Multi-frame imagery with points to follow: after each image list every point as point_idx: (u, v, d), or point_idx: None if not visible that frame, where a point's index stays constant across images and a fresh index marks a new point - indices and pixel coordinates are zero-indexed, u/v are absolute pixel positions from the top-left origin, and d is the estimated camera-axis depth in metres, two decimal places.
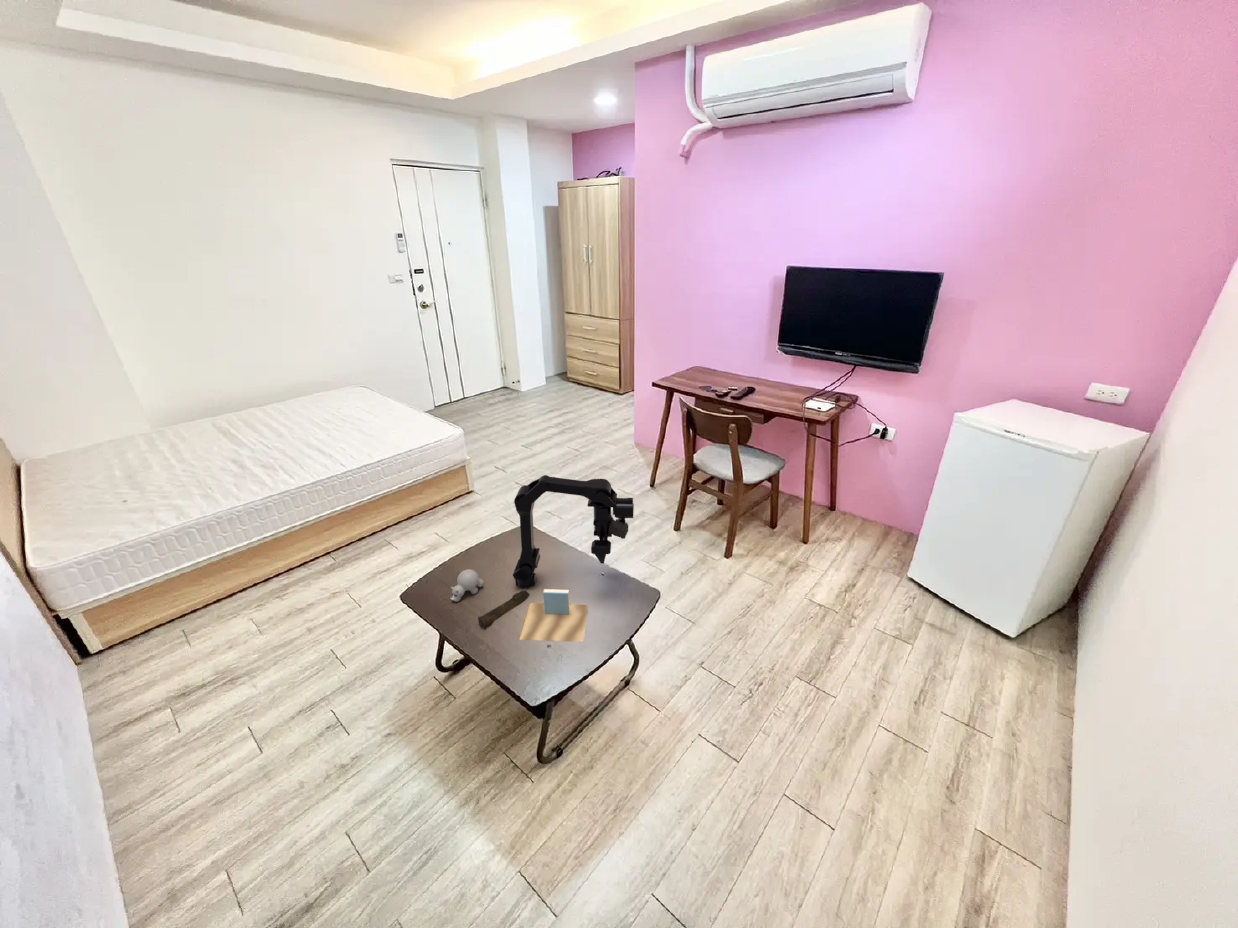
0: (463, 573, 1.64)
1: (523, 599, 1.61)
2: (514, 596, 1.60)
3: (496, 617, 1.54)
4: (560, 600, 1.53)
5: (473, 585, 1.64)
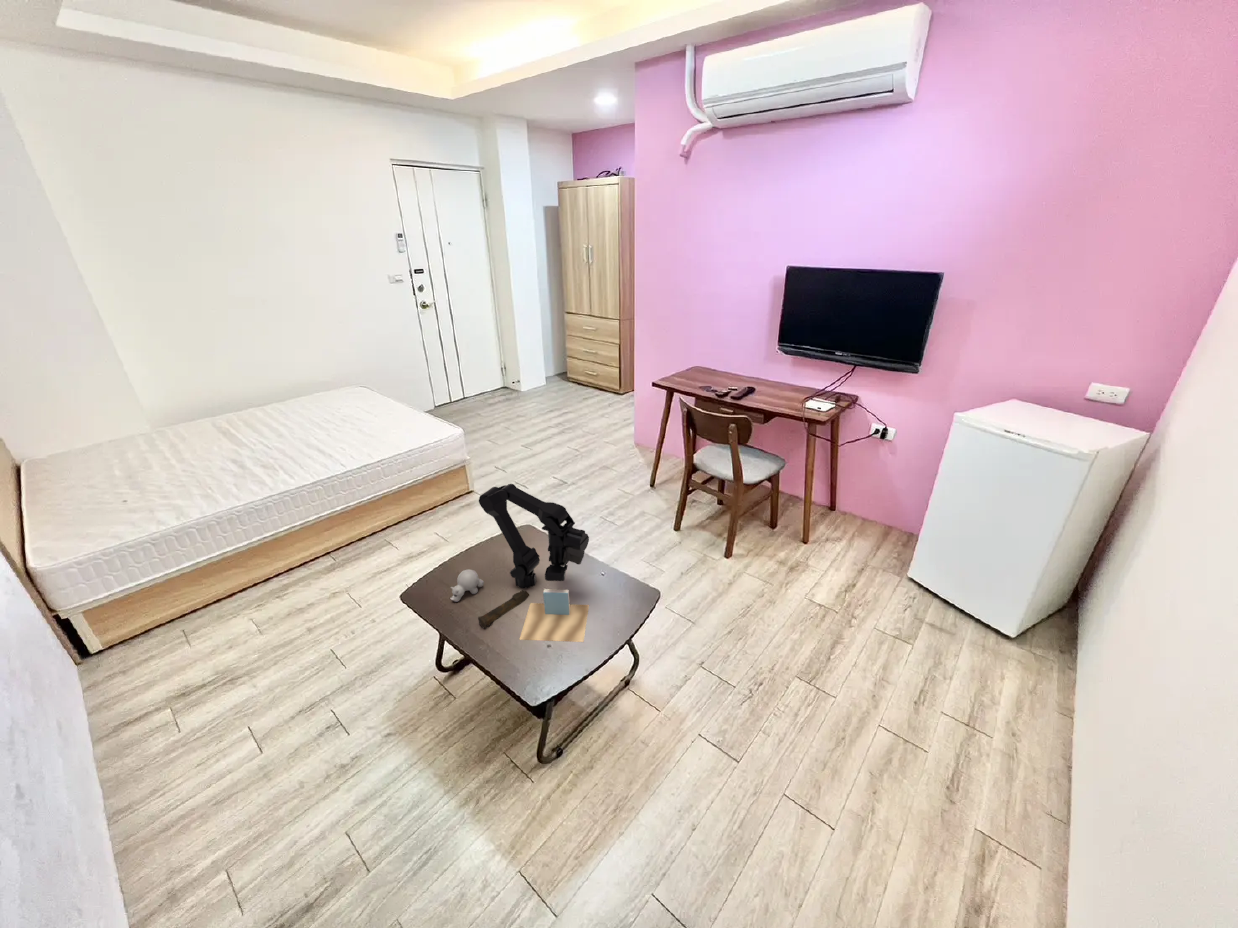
0: (463, 573, 1.64)
1: (523, 599, 1.61)
2: (514, 596, 1.60)
3: (496, 617, 1.54)
4: (560, 600, 1.53)
5: (473, 585, 1.64)
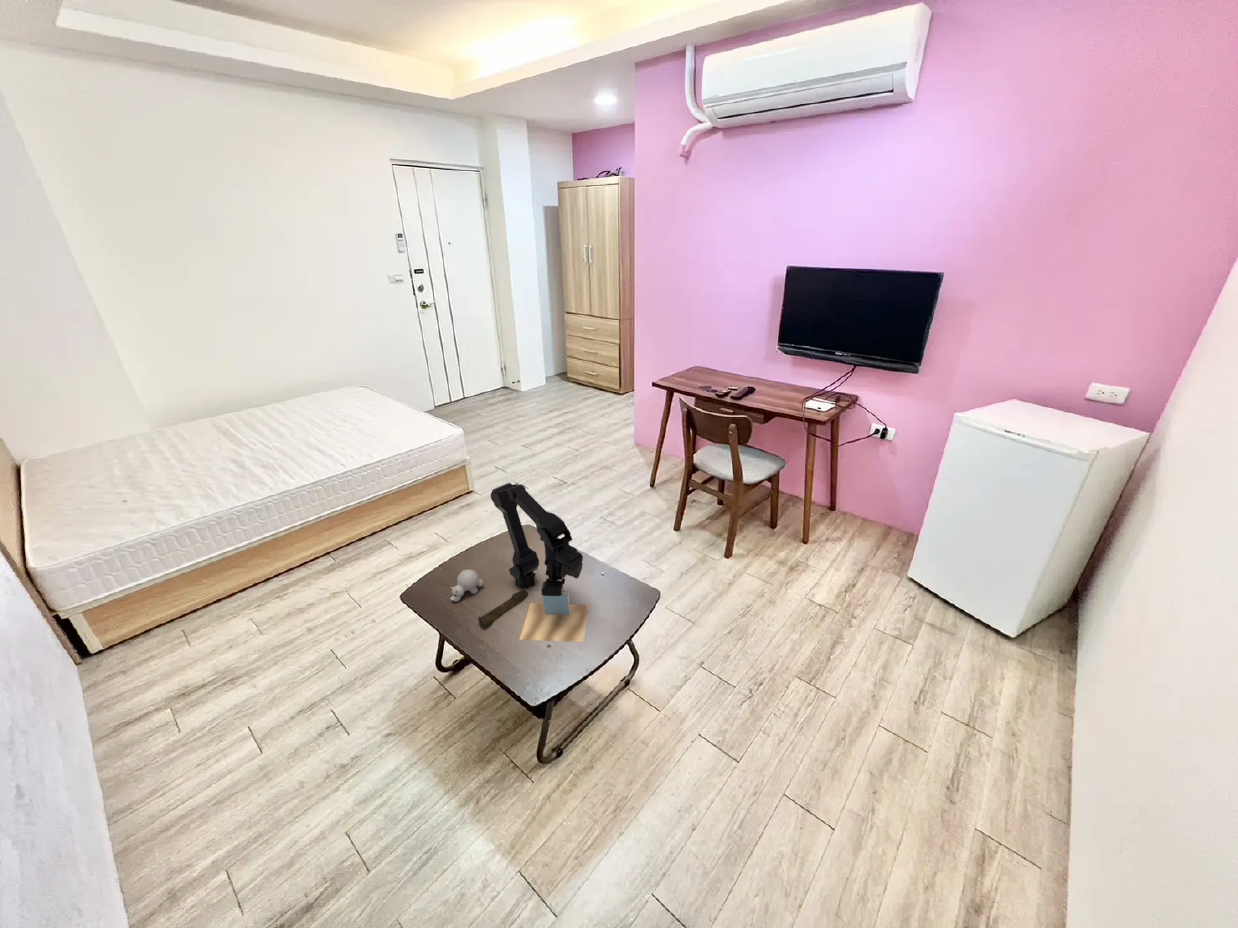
0: (463, 573, 1.64)
1: (522, 598, 1.61)
2: (513, 596, 1.60)
3: (496, 617, 1.54)
4: (560, 601, 1.53)
5: (473, 585, 1.64)
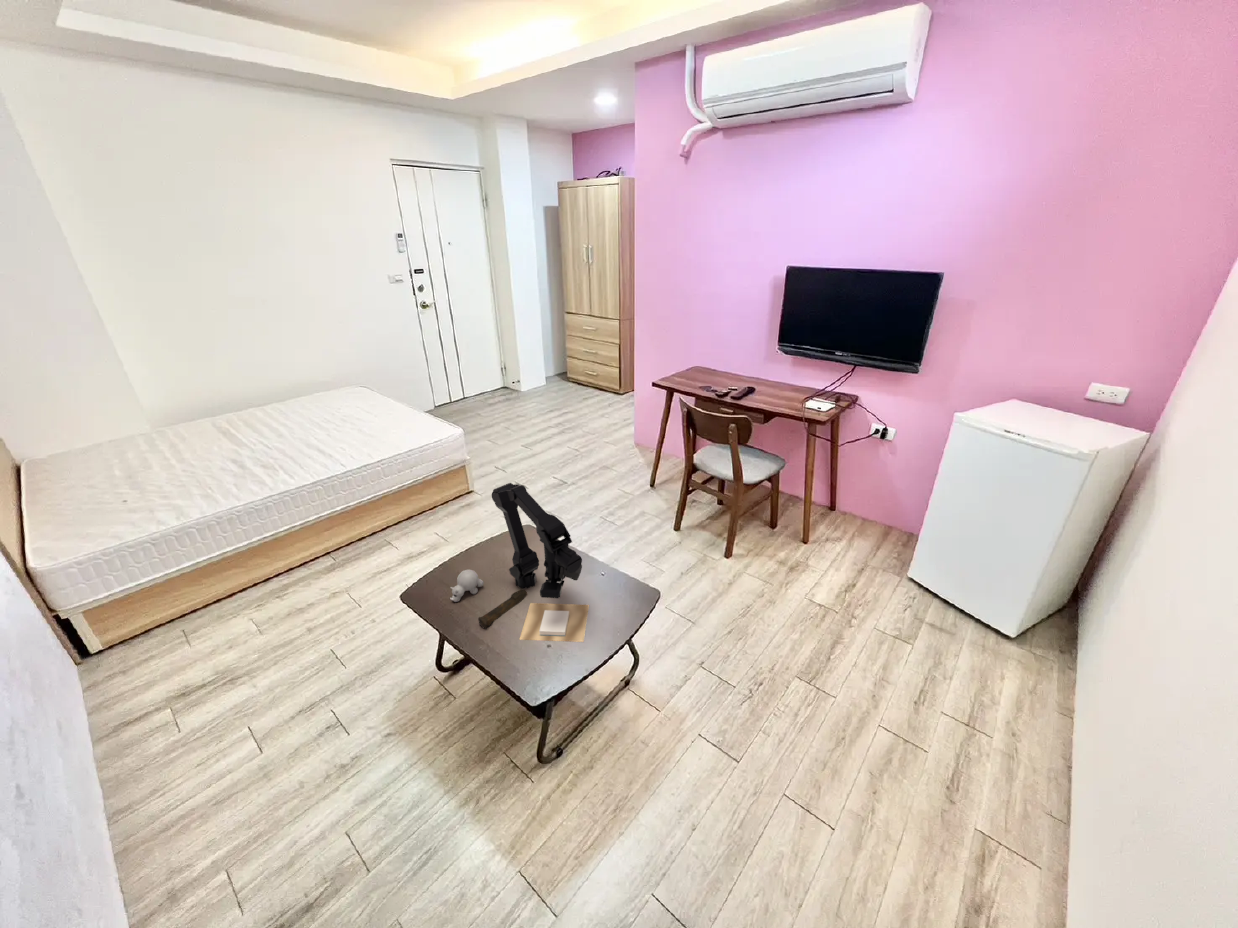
0: (463, 573, 1.64)
1: (522, 598, 1.62)
2: (513, 595, 1.60)
3: (496, 617, 1.54)
4: None
5: (473, 585, 1.64)
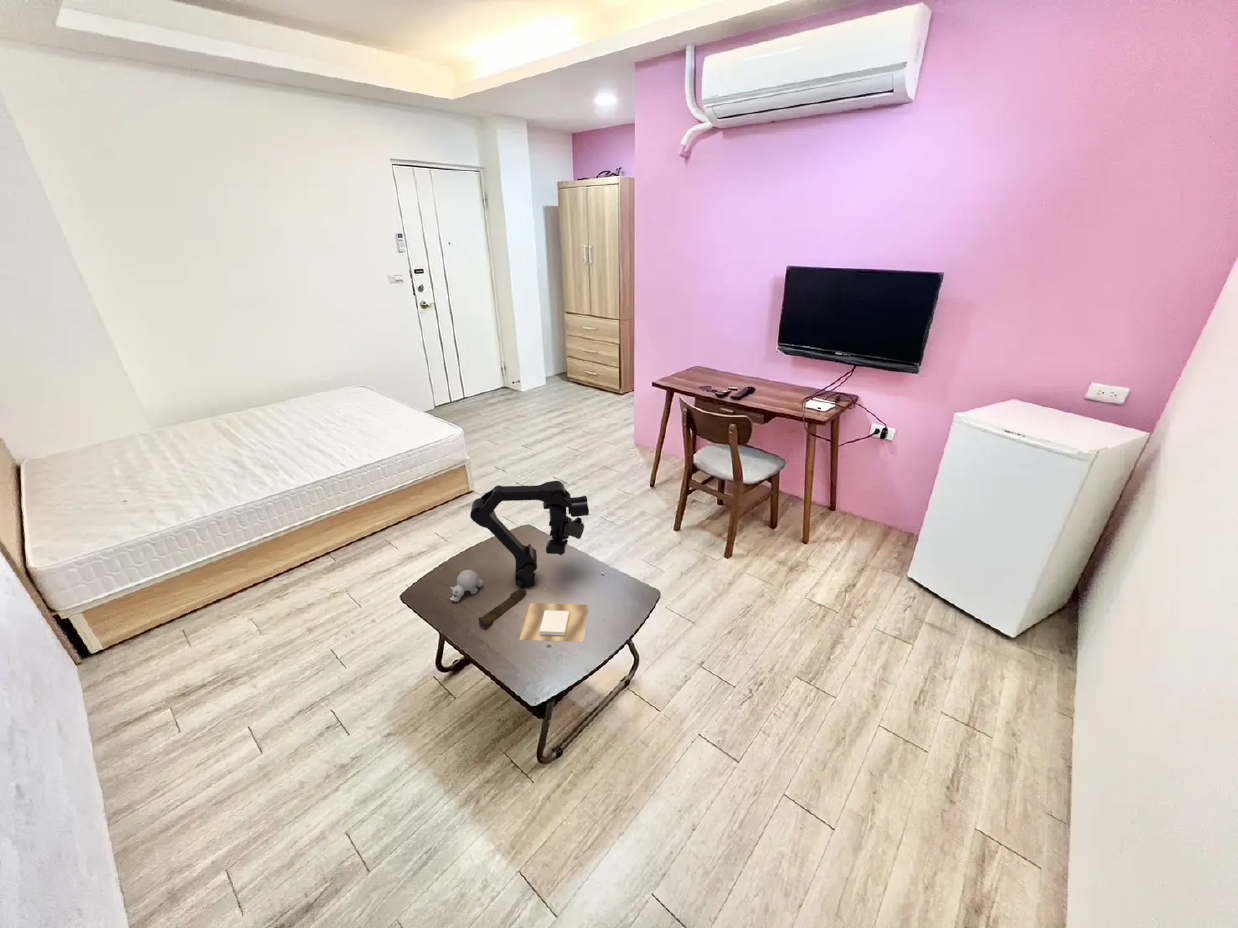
0: (463, 573, 1.64)
1: (521, 597, 1.62)
2: (512, 595, 1.60)
3: (496, 616, 1.54)
4: None
5: (473, 585, 1.64)
